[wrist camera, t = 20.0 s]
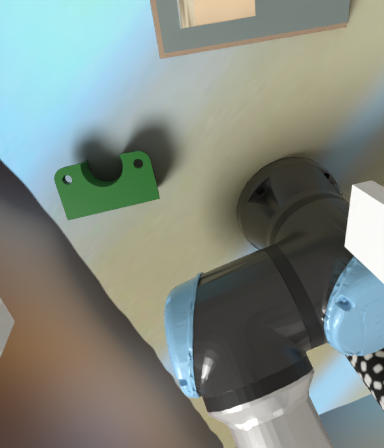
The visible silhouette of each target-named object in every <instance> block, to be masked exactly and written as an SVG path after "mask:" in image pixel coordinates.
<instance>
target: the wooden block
mask: <svg viewBox="0 0 384 448" xmlns="http://www.w3.org/2000/svg"><path fill="white" fill-rule="evenodd" d="M177 7H178V14H179V22H180V29H182V28H188V27H194V26H200V25H206V24H212V23H218V22H224V21H230V20H235V19H241V18H246V17H252V16H255V0H177Z"/></svg>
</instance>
